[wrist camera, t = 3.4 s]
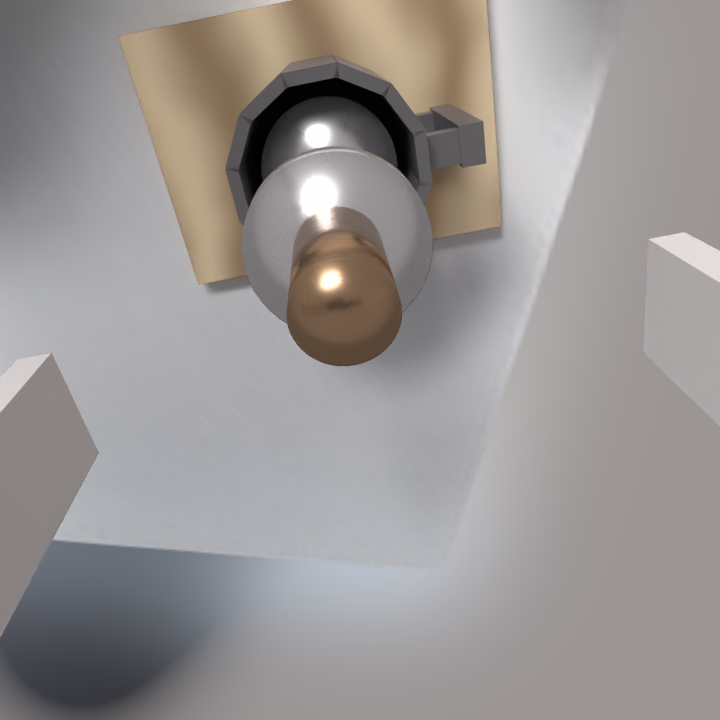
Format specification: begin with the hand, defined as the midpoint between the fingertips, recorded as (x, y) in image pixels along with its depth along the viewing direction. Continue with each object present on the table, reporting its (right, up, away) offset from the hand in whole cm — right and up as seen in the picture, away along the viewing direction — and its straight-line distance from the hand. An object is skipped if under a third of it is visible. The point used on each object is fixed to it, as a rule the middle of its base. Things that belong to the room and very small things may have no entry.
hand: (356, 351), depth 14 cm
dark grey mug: (-1, +14, +26) cm, 30 cm away
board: (-2, +15, +27) cm, 31 cm away
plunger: (-2, +10, +18) cm, 20 cm away
